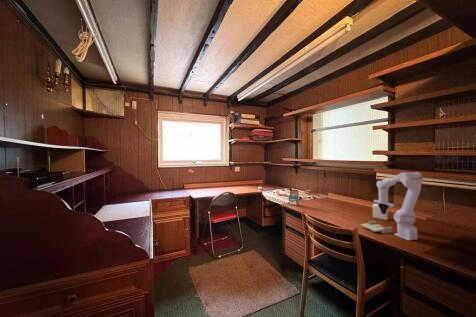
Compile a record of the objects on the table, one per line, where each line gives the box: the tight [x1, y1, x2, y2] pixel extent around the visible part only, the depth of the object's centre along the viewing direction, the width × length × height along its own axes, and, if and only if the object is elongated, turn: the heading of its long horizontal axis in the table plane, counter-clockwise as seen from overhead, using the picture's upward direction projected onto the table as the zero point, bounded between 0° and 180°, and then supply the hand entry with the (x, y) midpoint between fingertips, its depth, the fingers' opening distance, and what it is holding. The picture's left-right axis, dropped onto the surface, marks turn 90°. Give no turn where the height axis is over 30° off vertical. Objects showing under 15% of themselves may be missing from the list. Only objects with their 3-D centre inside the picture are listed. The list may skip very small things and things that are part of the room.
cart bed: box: [367, 220, 393, 234], centre depth 135 cm, size 13×8×4 cm, turn 10°
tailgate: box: [360, 222, 382, 233], centre depth 134 cm, size 12×1×5 cm
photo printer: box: [372, 203, 389, 221], centre depth 156 cm, size 10×4×12 cm, turn 39°
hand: (383, 213), depth 141 cm, fingers closed
